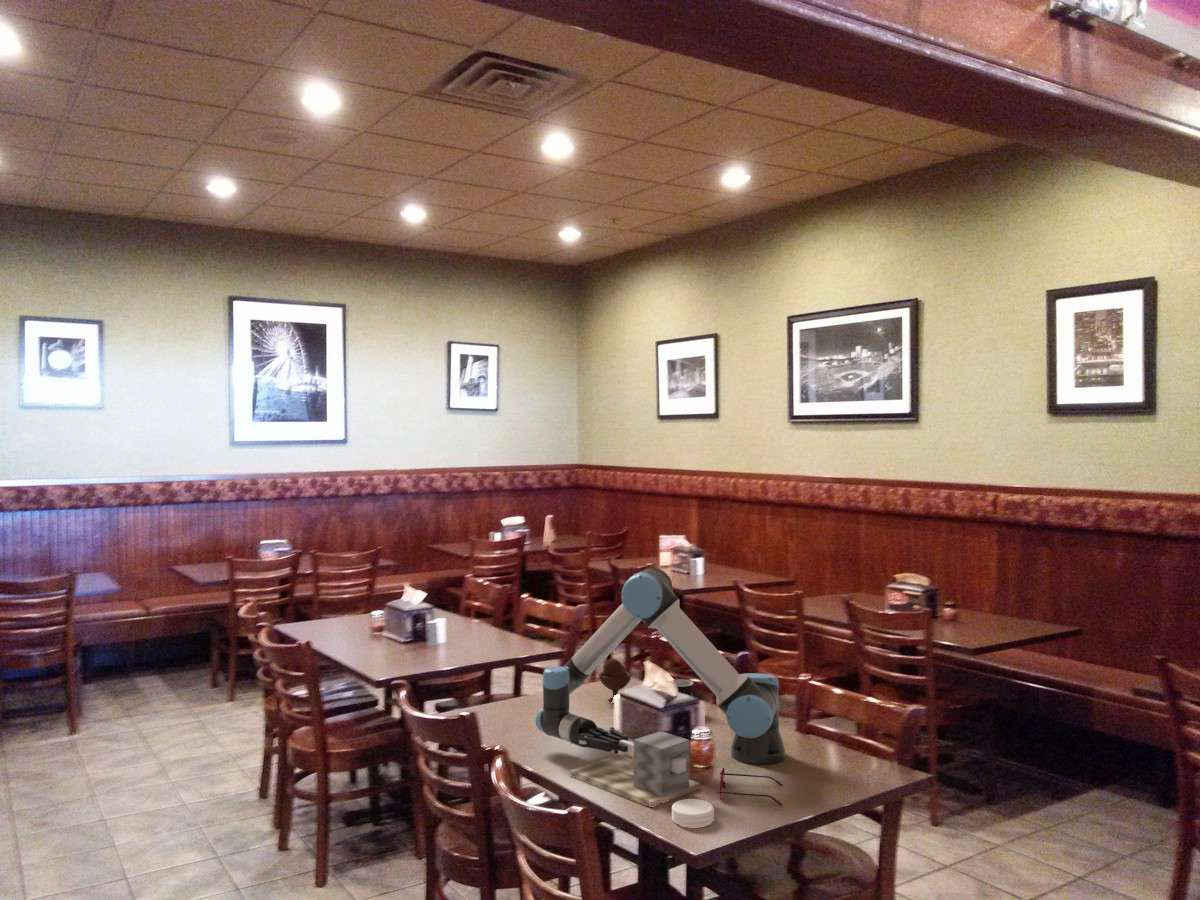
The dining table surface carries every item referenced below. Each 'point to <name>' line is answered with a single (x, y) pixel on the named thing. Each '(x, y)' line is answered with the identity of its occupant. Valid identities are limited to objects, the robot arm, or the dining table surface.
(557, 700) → the robot arm
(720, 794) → the glasses
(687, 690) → the coffee mug
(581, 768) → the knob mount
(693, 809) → the white jar lid
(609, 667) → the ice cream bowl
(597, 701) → the dining table surface
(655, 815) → the dining table surface
